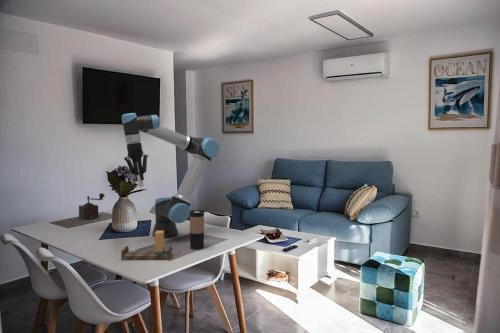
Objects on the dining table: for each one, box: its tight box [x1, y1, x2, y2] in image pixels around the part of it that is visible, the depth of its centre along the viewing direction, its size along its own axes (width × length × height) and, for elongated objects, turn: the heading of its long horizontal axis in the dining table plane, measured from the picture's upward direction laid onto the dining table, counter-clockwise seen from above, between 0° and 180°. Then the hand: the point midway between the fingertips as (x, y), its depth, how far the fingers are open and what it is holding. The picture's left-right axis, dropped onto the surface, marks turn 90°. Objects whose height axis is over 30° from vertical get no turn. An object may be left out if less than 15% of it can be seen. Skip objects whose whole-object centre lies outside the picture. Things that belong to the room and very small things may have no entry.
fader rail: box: [120, 245, 173, 261], centre depth 180 cm, size 23×8×4 cm, turn 93°
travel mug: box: [189, 209, 205, 251], centre depth 196 cm, size 8×8×20 cm
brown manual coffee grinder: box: [78, 192, 105, 221], centre depth 267 cm, size 16×11×18 cm
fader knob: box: [153, 231, 166, 255], centre depth 180 cm, size 4×6×10 cm
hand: (141, 186), depth 194 cm, fingers closed
